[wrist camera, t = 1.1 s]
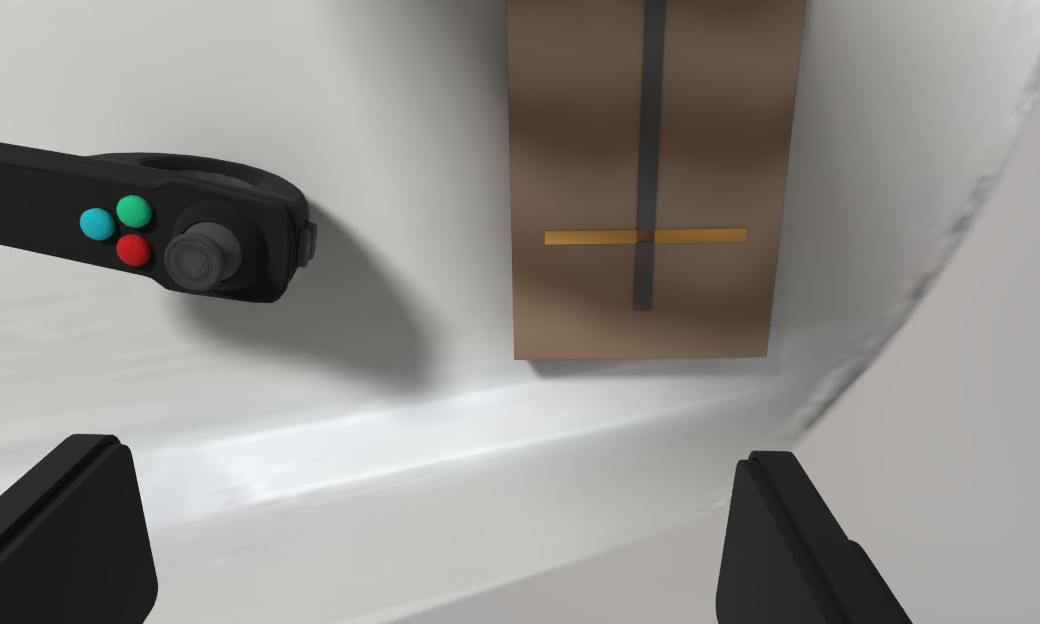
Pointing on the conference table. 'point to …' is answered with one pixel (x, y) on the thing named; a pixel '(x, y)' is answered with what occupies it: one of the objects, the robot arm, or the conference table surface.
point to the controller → (159, 218)
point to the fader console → (648, 174)
